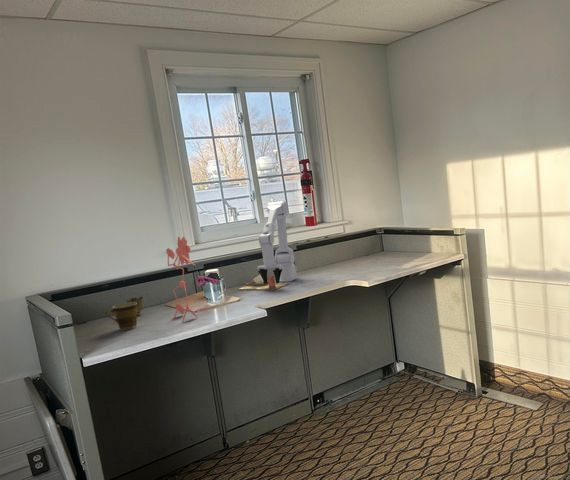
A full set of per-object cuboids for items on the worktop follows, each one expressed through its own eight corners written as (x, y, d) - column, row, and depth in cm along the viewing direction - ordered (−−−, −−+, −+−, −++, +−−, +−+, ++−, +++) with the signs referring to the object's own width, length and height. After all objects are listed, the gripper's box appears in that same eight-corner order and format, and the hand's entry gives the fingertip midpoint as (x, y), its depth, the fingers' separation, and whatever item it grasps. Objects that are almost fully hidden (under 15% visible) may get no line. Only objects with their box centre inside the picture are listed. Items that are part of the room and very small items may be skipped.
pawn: (271, 287, 264) (270, 274, 263) (276, 287, 262) (275, 274, 262) (267, 288, 261) (266, 276, 261) (273, 288, 259) (271, 276, 259)
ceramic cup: (137, 323, 219) (134, 300, 218) (142, 327, 210) (139, 304, 209) (106, 330, 213) (103, 307, 212) (110, 335, 204) (106, 310, 203)
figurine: (189, 324, 206) (179, 238, 203) (164, 316, 227) (155, 238, 224) (222, 316, 215) (213, 233, 212) (195, 309, 236) (187, 234, 233)
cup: (126, 317, 234) (123, 300, 233) (133, 313, 241) (130, 297, 241) (141, 316, 233) (138, 299, 232) (147, 312, 240) (145, 296, 239)
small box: (209, 294, 269) (206, 269, 268) (221, 292, 269) (218, 268, 268) (207, 297, 261) (204, 272, 260) (219, 295, 261) (216, 270, 260)
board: (254, 284, 282) (254, 280, 282) (289, 284, 269) (288, 280, 269) (239, 290, 271) (238, 286, 271) (274, 290, 258) (273, 286, 258)
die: (257, 277, 278) (263, 273, 276) (261, 284, 277) (267, 280, 275) (253, 278, 273) (259, 274, 271) (257, 286, 273) (263, 282, 271)
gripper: (252, 258, 261) (255, 284, 262) (275, 258, 253) (278, 284, 254) (260, 256, 267) (263, 281, 268) (283, 255, 259) (286, 281, 260)
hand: (271, 283), depth 262 cm, fingers open, 7 cm apart
